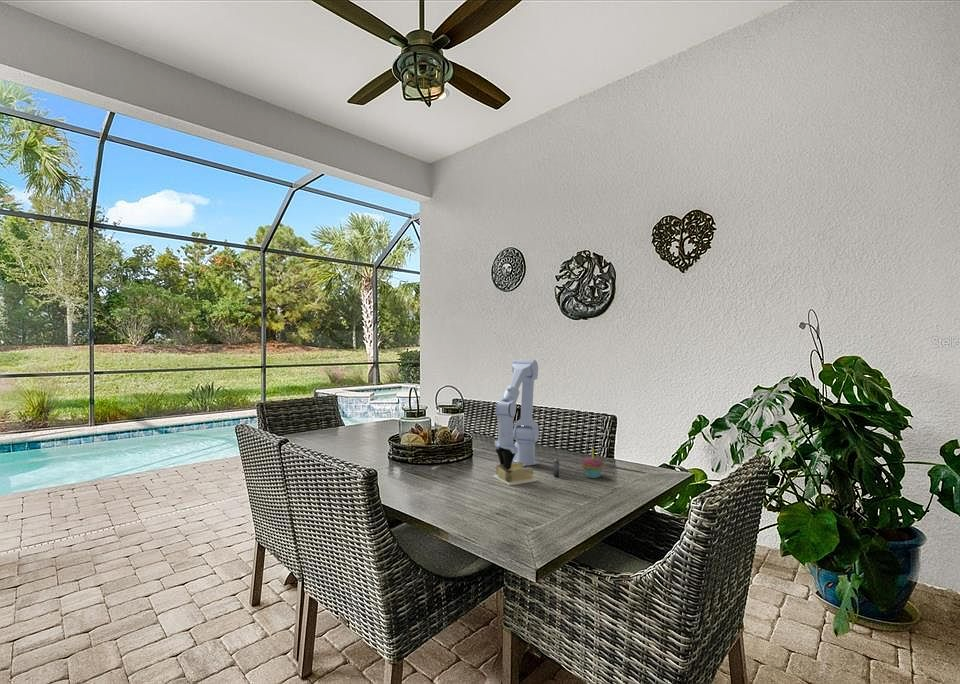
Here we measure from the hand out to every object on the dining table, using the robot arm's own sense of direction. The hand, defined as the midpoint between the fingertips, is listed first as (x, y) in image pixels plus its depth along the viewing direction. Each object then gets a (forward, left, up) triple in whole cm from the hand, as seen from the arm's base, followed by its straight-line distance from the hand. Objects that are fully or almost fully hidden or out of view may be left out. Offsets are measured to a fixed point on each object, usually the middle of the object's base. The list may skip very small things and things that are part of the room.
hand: (505, 468), depth 175 cm
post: (+8, +18, -3) cm, 20 cm away
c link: (+3, +2, -2) cm, 4 cm away
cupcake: (+14, +30, -4) cm, 34 cm away
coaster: (+4, +2, -3) cm, 5 cm away
